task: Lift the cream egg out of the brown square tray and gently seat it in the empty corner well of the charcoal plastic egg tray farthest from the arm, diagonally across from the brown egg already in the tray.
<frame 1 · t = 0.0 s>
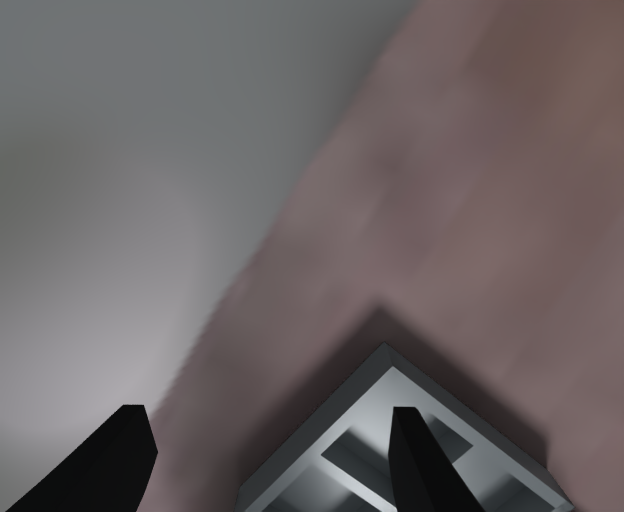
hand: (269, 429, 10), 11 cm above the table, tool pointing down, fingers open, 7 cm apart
egg tray: (390, 478, 24), on the table
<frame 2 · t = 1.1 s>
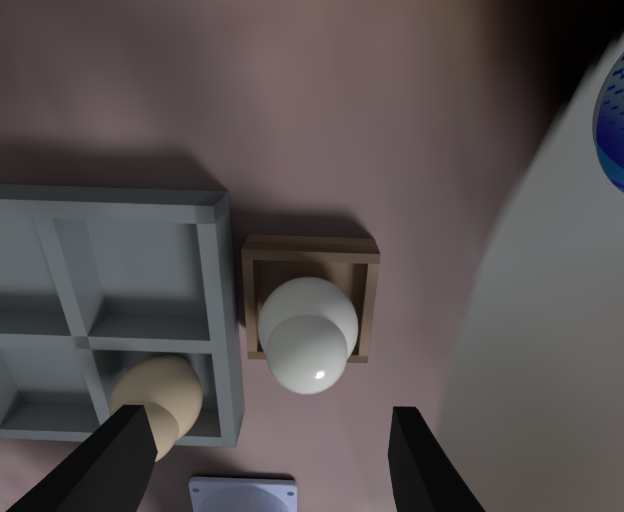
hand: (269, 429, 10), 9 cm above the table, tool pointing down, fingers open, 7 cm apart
brown square tray: (309, 290, 19), on the table
brown egg: (174, 370, 21), point 1 cm above the table, touching egg tray
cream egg: (309, 300, 18), point 1 cm above the table, touching brown square tray
egg tray: (109, 313, 20), on the table
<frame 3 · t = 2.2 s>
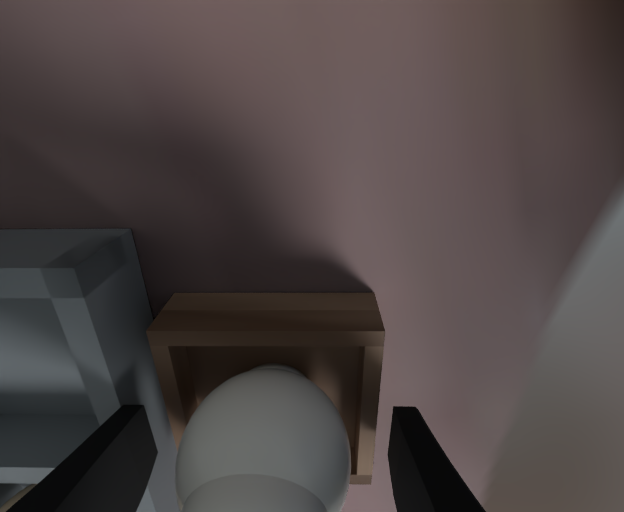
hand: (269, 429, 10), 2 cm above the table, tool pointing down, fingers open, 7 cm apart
brown square tray: (278, 369, 12), on the table
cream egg: (275, 391, 11), point 1 cm above the table, touching brown square tray
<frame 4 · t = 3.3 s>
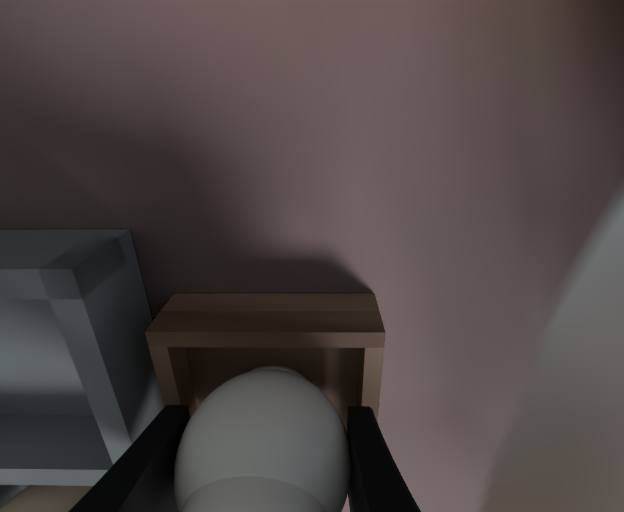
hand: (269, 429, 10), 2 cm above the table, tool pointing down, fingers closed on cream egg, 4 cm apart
brown square tray: (278, 370, 12), on the table
brown egg: (91, 482, 14), point 1 cm above the table, touching egg tray
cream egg: (275, 392, 11), point 1 cm above the table, touching brown square tray, gripper
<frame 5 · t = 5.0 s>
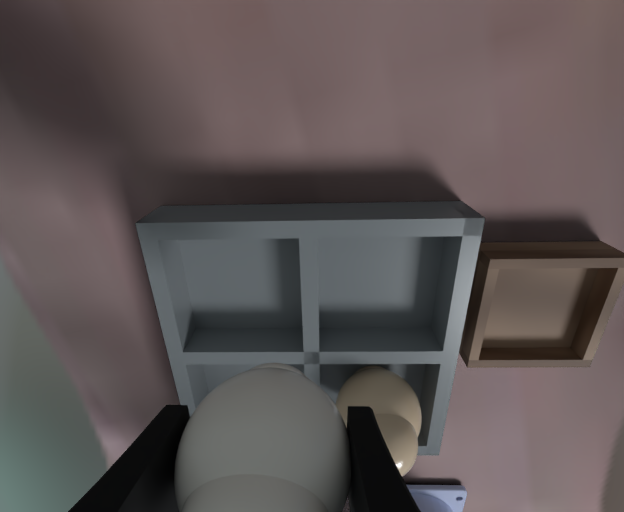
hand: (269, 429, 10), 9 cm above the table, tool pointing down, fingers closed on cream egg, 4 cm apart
brown square tray: (522, 296, 19), on the table
brown egg: (371, 380, 21), point 1 cm above the table, touching egg tray
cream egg: (275, 391, 11), point 8 cm above the table, touching gripper
egg tray: (312, 327, 20), on the table
when the fingers open (3 cm above the table, at t = 7.3 s): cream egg drops 1 cm, resting on egg tray.
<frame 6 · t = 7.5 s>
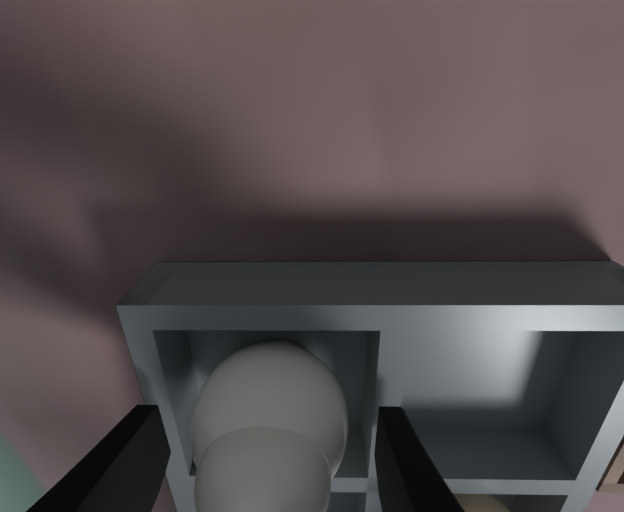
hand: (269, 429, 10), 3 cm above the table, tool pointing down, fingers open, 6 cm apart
brown egg: (446, 489, 15), point 1 cm above the table, touching egg tray
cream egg: (278, 366, 12), point 1 cm above the table, touching egg tray
egg tray: (369, 421, 14), on the table
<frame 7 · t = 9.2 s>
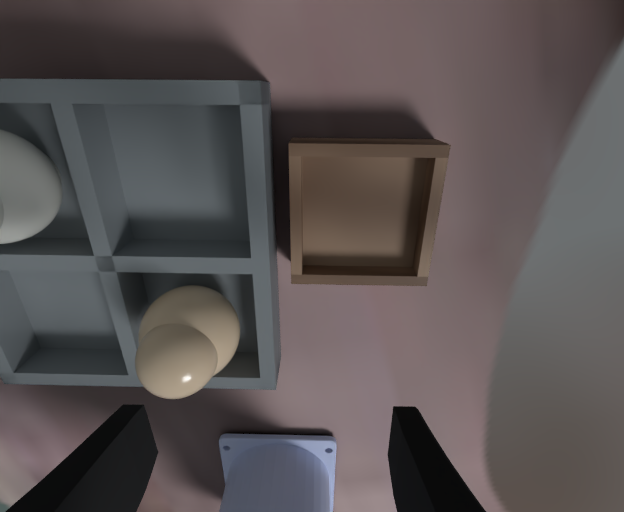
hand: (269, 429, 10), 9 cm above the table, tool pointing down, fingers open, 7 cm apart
brown square tray: (358, 207, 17), on the table
brown egg: (205, 306, 19), point 1 cm above the table, touching egg tray
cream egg: (34, 174, 16), point 1 cm above the table, touching egg tray
egg tray: (133, 241, 18), on the table
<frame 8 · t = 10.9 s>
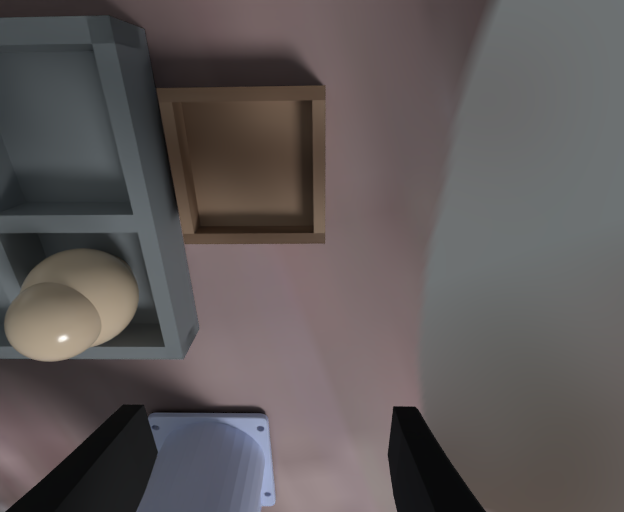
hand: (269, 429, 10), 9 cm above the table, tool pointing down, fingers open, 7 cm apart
brown square tray: (256, 164, 16), on the table
brown egg: (110, 274, 18), point 1 cm above the table, touching egg tray
egg tray: (30, 207, 17), on the table
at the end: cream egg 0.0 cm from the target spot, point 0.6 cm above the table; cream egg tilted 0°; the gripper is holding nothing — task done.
